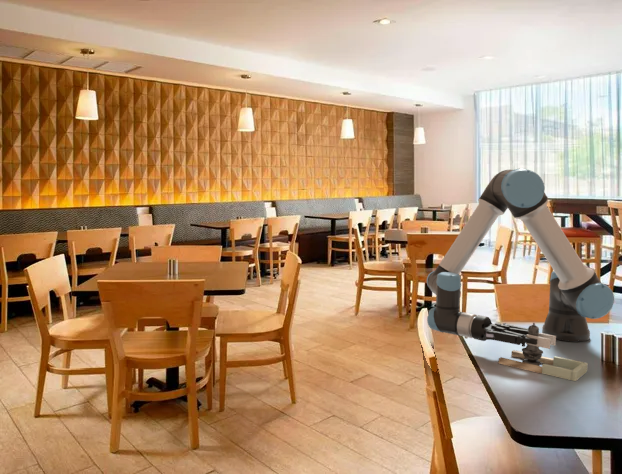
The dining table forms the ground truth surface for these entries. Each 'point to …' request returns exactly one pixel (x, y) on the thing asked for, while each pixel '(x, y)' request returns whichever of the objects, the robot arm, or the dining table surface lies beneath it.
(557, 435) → the dining table surface
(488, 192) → the robot arm
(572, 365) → the socket
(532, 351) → the dark stone chess piece
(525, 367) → the channel
